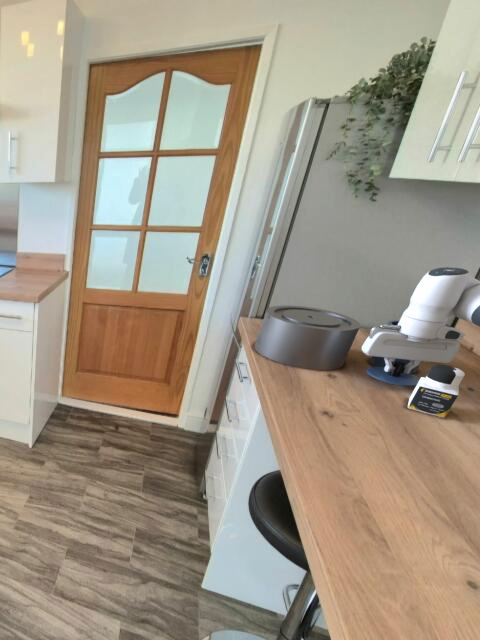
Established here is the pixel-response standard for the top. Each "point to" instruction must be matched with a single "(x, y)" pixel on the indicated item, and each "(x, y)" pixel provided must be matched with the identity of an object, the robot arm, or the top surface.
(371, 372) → the tin lid
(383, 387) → the top surface
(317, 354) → the container
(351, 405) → the top surface
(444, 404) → the medicine bottle
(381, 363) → the tin
